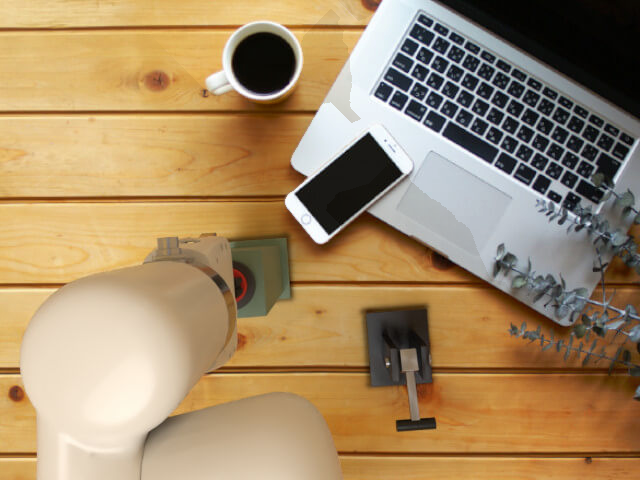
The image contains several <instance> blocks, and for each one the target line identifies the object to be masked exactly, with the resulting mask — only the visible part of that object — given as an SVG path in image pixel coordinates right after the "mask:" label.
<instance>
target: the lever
mask: <svg viewBox="0 0 640 480" xmlns="http://www.w3.org/2000/svg"><path fill="white" fill-rule="evenodd" d="M398 360H399V368H400V373H405V378H406V385H405V386H406V393H407V403H408V411H409V418H406V419H405V418H404V419H395V430H396V433H401V432H402V433H403V432H417V431H428V430H429V431H431V430H437V427H438V425H437V420H436V417H435V416H433V417H432V416H431V417H421V416H420V407H419V400H418V393H417V384H416V383H415V375H414V372H416V371H418V370H419V367H418V359H417V351H416V348H415V349H401V350H399V351H398Z"/></svg>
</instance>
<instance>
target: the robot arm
mask: <svg viewBox="0 0 640 480" xmlns="http://www.w3.org/2000/svg"><path fill="white" fill-rule="evenodd" d="M156 242H157V243H156V244H157V246H155V247H154V248H153V249H152V250H151V251H150V252H149V253H148V254H147V255H146V257H145V258H144V260H143V262H142V264H138V265H137V264H136V265H132V266H126V267H122V268H117V269H111V270H106V271H101V272H96V273H92V274H89V275H85V276H82V277H79V278H76V279H74V280H72V281H70V282H68V283H66V284H63V286H61V287H59V288H58V289H57V290H55V291H54V292H52V293H51V294H50V295H49V296H48V297H47V298H46V299H45V300H44V301H43V302H42V303H41V304H40V305H39V306H38V307H37V308H36V310H35V312H34V313H33V315H32V317H30V318H31V319H30V320H29V322H28V323H27V326H26V328H25V331H24V333H23V336H22V340H21V343H20V348H19V361H18V362H19V372H20V379H21V382H22V385H23V388H24V391H25V395H26V396H27V398H28V399H29V402H30V403H31V405H32V407H33V408H34V409H35V415H36V416H35V417H36V420H35V423H36V471H35V472H36V477H35V480H345V477H344V473H343V469H342V465H341V460H340V457H339V452H338V451H337V448H336V444H335V441H334V438H333V434H332V432H331V430H330V428H329V424H328V423H327V420H326V419H325V418H324V416H323V414H322V413H321V412H320V410H319V409H318V408H317V406H316V405H315V404H314V403H312V401H311V400H309V399H307V398H306V397H304V396H302V395H300V394H298V393H294V392H289V391H271V392H266V393H260V394H256V395H252V396H247V397H243V398H239V399H234V400H231V401H227V402H222V403H219V404H214V405H210V406H206V407H202V408H199V409H194V410H191V411H187V412H186V411H185V412H183V413H178V414H175V415H171V414H172V413H174V412H175V410H176V409H178V408H179V406H180V405H181V404H182V402H183V401H184V400H185V398H187V396H188V395H189V394H190V392H191V391H192V390H193V388H194V387H195V386H196V385H197V384H198V382H199V381H200V380H201V379H202V377H203V376H204V375H205V374H208V373H211V372H213V371H216V370H217V369H220V368H222V367H224V366H225V365H226V364H227V363H228V362H230V361H231V359H232V358H233V357H234V355H235V353H236V352H237V349H238V340H239V339H238V336H239V335H238V318H237V303H236V299H235V298H238V297H239V296H240V295H241V294H242V293H243V288H241V286H239V285H241V283H242V277H235V278H233V267H232V256H231V248H230V243H229V242H230V241H229V240H228V239H227V238H226V237H224V236H222V235H217V232H205V233H201V234H200V235H199V236H197V237H191V236H186V237H180V238H179V236H167V237H166V236H165V237H156Z"/></svg>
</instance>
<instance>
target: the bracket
mask: <svg viewBox="0 0 640 480" xmlns="http://www.w3.org/2000/svg"><path fill="white" fill-rule="evenodd" d="M428 317H429V316H428V308H427V307H416V308H403V309H389V310H373V311H365V322H366V323H365V325H366V337H367V351H368V352H367V353H368V365H369V366H368V367H369V376H370V377H369V378H370V380H369V381H370V387H371V388H380V387H390V386H391V387H392V386H394V387H395V386H406V378H405V373H400V368H399V360H398V351H399V350H401V349H415V348H416V351H417V359H418V367H419V370H418V371H416V372H414V375H415V383H416V385H419V384H420V385H421V384H432V383H433V374H432V373H433V372H432V363H433V361H432V355H431V346H430V345H431V343H430V333H429V318H428Z"/></svg>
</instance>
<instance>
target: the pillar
mask: <svg viewBox="0 0 640 480" xmlns="http://www.w3.org/2000/svg"><path fill="white" fill-rule="evenodd" d="M287 240H288V239H287V237H277V238H263V239H250V240H238V241H237V240H236V241H228V242H229V243H230V248H231V256H232V267H233V269H236V270H238V271H240V272H241V273H242V274H243V275H244V277H245V278H246V281H247V291H246V293H245V295H244V297H243V298H242V299H241V300H239V301H238V302H237V319H248V318H261V317H267V316H268V315H269V314H270V312H271V311H272V309H273V308H274V306H275V305H276V304H277V302H278V300H287V299H288V300H289V299H291V298H292V295H291V281H290V267H289V254H288V253H289V252H288V241H287Z"/></svg>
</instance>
